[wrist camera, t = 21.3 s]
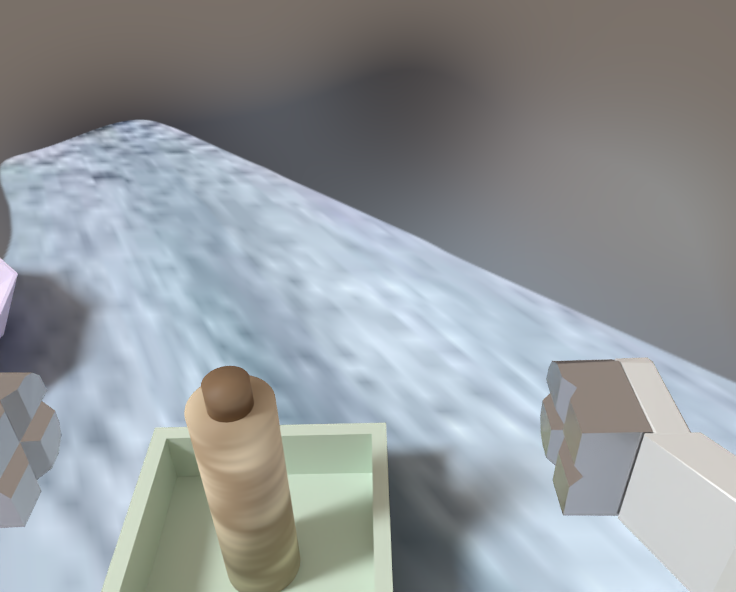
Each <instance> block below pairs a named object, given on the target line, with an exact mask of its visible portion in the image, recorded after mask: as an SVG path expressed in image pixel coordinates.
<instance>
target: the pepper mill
mask: <svg viewBox="0 0 736 592" xmlns="http://www.w3.org/2000/svg"><path fill="white" fill-rule="evenodd" d="M185 420H186V424H187V427H188V431H189V435H190V438H191V442H192V446H193V449H194V453H195V457H196V460H197V464H198V468H199V471H200V475H201V479H202V482H203V486H204V490H205V493H206V497H207V501H208V504H209V508H210V512H211V515H212V519H213V523H214V527H215V530H216V534H217V538H218V541H219V545H220V549H221V552H222V556H223V560H224V563H225V567H226V571H227V574H228V578H229V580H230V582H231V584H232V585H233V587H234V588H235V589H236V590H237V591H239V592H280V591H282V590H283V589H285V588H286V587H287V586H288V585H289V584H290V583H291V582H292V581H293V580H294V578H295V577H296V575H297V573H298V570H299V567H300V552H299V546H298V540H297V533H296V527H295V520H294V514H293V508H292V501H291V495H290V489H289V482H288V476H287V469H286V463H285V457H284V450H283V444H282V437H281V431H280V425H279V418H278V412H277V405H276V399H275V394H274V391H273V390H272V388H271V387H270V386H269V385H268V384H267V383H266V382H265V381H263V380H262V379H259V378H257V377H254V376H250V375H249V374H248V373H247V372H246V371H245V370H244V369H242V368H240V367H236V366H224V367H220V368H217V369H215V370H213V371H211V372H209V373H208V374H207V375H206V376H205V377H204V378H203V380H202V383H201V387H199V388H198V389H197V390H196V391H195V392H194V393H193V394H192V395H191V397H190V398H189V400H188V401H187V404H186V406H185Z"/></svg>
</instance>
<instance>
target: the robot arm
mask: <svg viewBox="0 0 736 592" xmlns="http://www.w3.org/2000/svg"><path fill="white" fill-rule="evenodd" d="M546 380H547V384H548V387H549V390H550V394H549V395H548V396H547V397H546V398H545V399H544V400H543V401H542V408H541V415H540V421H541V437H542V443H543V448H544V451H545V455H546V458H547V459H548V460H549V461H551V462H552V463H553V464H554V465H555V471H554V476H553V483H554V487H555V490H556V493H557V497H558V500H559V503H560V507H561V510H562V513H563V515H590V516H618V519H619V520H620V521H621V522H622V523H623V524H624V525H625V526H626V527H627V528H628V529H629V530H630V531H631V532H632V533H633V534H634V535H635V536H636V537H637V538H638V539H639V540H640V541H641V542H642V543H643V544H644V545H645V546H646V547H647V549H648V550H649V551H650V552H651V553H652V554H653V555H654V556H655V557H656V558H657V559H658V560H659V561H660V562H661V563H662V564H663V565H664V566H665V567H666V568H667V569H668V570H669V571H670V572H671V573H672V574H673V575H674V576H675V577H676V578H677V579H678V580H679V581H680V582H681V583H682V584H683V585H684V586H685V587H686V588H687V589H688V590H689V591H690V592H736V456H735V455H734V454H732V453H731V452H729V451H728V450H726V449H725V448H723V447H722V446H720V445H719V444H717V443H716V442H714V441H713V440H711V439H710V438H708V437H707V436H705V435H704V434H702V433H691V432H690V430H689V428H688V426H687V424H686V422H685V420H684V419H683V417H682V415H681V413H680V411H679V409H678V408H677V406H676V404H675V402H674V400H673V398H672V396H671V395H670V393H669V391H668V389H667V387H666V385H665V384H664V382H663V380H662V378H661V376H660V374H659V372H658V371H657V369H656V367H655V365H654V363H653V361H651V360H650V359H648V358H623V359H615V360H612V359H609V360H575V361H552V362H551V364H550V366H549V369H548V374H547V379H546ZM46 392H47V390H46V387H45V385H44V383H43V381H42V379H41V377H40V375H37V374H35V373H0V528H8V527H25V525H26V523H27V521H28V519H29V517H30V515H31V513H32V511H33V508H34V506H35V504H36V502H37V500H38V498H39V496H40V493H41V489H40V486H39V484H38V481H37V480H38V479H39V478H40V477H42V476H43V475H44V474H45V473H47V472H48V471H49V470H51V469H52V468H53V465H54V463H55V461H56V458H57V456H58V454H59V447H60V441H61V430H60V423H59V420H58V417H57V414H56V412H55V410H53V409H52V408H51V407H49V406H48V405H46V404H45V403H44V402H42V399H43V397H44V395H45V394H46Z"/></svg>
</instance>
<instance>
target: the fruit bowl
mask: <svg viewBox="0 0 736 592" xmlns="http://www.w3.org/2000/svg"><path fill="white" fill-rule="evenodd" d="M17 275H18V273H17V272H16V271H15V270H13V269H12V268H11V267H10V266H9V265H8V264H6V263H5V262H4V261H3V260H2V259H1V258H0V338H1V337H2V336H3V335H4V331H5V327H6V323H7V319H8V314H9V310H10V306H11V301H12V297H13V293H14V288H15V284H16V280H17Z"/></svg>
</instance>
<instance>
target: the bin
mask: <svg viewBox="0 0 736 592" xmlns="http://www.w3.org/2000/svg"><path fill="white" fill-rule="evenodd" d="M280 431H281V437H282V444H283V450H284V457H285V463H286V469H287V476H288V482H289V489H290V495H291V501H292V508H293V514H294V520H295V527H296V533H297V540H298V546H299V552H300V567H299V570H298V573H297V575H296V577H295V578H294V580H293V581H292V582H291V583H290V584H289V585H288V586H287V587H286V588H285V589H283V590H282V591H280V592H393V581H392V557H391V533H390V509H389V485H388V460H387V436H386V423H355V424H308V425H280ZM101 592H239V591H237V590H236V589H235V588H234V587H233V585H232V584H231V582H230V580H229V578H228V574H227V571H226V567H225V563H224V560H223V556H222V552H221V549H220V545H219V541H218V538H217V534H216V530H215V527H214V523H213V519H212V515H211V512H210V508H209V504H208V501H207V497H206V493H205V490H204V486H203V482H202V479H201V475H200V471H199V468H198V464H197V460H196V457H195V453H194V449H193V446H192V442H191V438H190V435H189V431H188V427H168V428H155V430H154V433H153V436H152V439H151V442H150V445H149V448H148V451H147V454H146V457H145V460H144V463H143V466H142V469H141V472H140V475H139V478H138V481H137V484H136V487H135V491H134V494H133V497H132V500H131V503H130V506H129V509H128V512H127V515H126V518H125V521H124V524H123V527H122V530H121V533H120V536H119V539H118V542H117V545H116V548H115V551H114V554H113V557H112V560H111V563H110V566H109V569H108V572H107V576H106V579H105V582H104V585H103V588H102V591H101Z"/></svg>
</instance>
